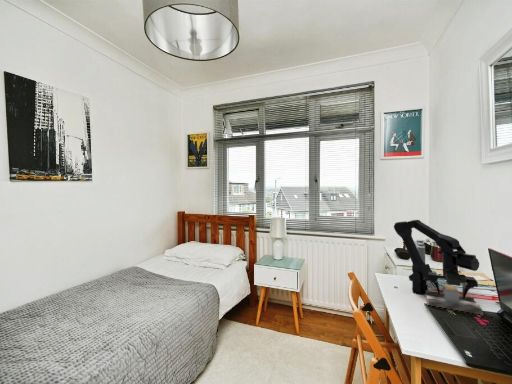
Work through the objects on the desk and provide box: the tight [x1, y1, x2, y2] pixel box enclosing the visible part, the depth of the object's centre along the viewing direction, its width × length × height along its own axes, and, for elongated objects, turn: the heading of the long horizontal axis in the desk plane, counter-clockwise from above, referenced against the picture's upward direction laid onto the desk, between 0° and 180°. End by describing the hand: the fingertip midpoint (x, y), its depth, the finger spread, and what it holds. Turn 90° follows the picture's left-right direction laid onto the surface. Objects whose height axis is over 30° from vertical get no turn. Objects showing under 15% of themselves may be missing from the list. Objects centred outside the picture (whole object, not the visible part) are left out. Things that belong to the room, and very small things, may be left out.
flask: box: [413, 239, 426, 264], centre depth 144 cm, size 17×5×25 cm, turn 153°
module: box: [442, 284, 460, 305], centre depth 115 cm, size 5×7×6 cm
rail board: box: [424, 289, 484, 316], centre depth 115 cm, size 20×13×3 cm, turn 60°
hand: (451, 296), depth 115 cm, fingers open, 9 cm apart
